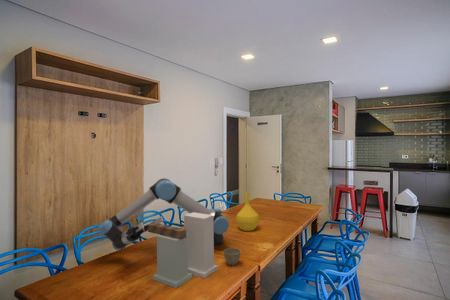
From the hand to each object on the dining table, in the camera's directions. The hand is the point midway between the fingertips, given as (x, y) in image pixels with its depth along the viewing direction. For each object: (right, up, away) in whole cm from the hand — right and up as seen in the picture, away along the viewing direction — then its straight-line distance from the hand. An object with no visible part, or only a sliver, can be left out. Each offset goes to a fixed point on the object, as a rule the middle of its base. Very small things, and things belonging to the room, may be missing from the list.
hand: (152, 221), depth 143 cm
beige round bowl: (+43, -27, +9) cm, 52 cm away
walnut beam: (+9, -5, -5) cm, 11 cm away
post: (+12, -27, -8) cm, 31 cm away
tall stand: (+25, -27, +2) cm, 37 cm away
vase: (+58, -26, +73) cm, 96 cm away
